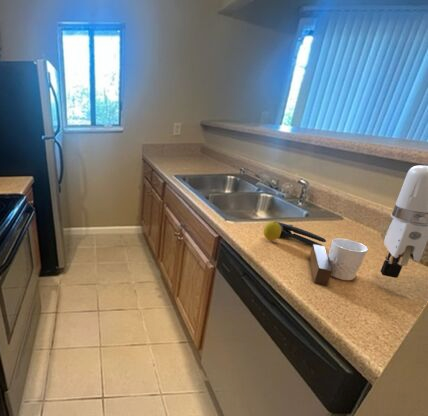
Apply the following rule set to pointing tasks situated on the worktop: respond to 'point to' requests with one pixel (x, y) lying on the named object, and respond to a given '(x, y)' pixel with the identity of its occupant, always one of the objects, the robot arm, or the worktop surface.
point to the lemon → (272, 231)
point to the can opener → (287, 233)
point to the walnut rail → (320, 265)
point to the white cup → (346, 258)
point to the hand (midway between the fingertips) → (388, 274)
